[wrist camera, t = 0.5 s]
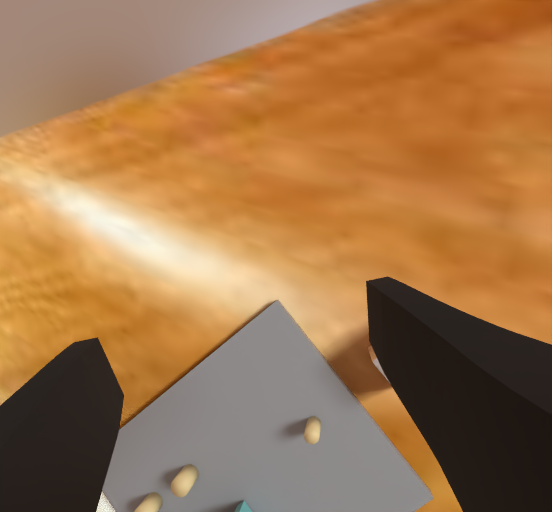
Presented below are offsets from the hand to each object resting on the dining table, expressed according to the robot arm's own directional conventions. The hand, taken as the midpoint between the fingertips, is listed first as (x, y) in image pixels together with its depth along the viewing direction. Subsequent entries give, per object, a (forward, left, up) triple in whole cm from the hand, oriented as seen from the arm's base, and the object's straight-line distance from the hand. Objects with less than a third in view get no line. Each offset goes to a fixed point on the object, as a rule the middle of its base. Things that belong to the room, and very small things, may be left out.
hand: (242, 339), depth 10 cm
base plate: (-9, +15, -23) cm, 29 cm away
